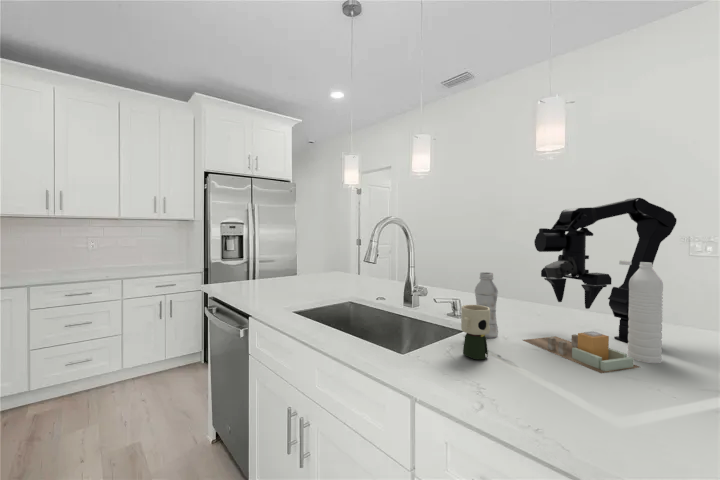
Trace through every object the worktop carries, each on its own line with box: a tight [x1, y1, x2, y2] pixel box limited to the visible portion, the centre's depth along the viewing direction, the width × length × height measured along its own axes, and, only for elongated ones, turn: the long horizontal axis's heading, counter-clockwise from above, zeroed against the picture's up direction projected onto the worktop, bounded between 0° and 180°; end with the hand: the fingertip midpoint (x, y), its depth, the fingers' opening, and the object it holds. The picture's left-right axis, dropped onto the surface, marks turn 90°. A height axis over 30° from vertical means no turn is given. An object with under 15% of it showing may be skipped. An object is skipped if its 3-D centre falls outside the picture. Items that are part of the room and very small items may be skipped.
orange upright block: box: [577, 330, 610, 361], centre depth 84 cm, size 5×4×6 cm
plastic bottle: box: [474, 272, 499, 339], centre depth 104 cm, size 6×7×20 cm
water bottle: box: [618, 259, 664, 364], centre depth 86 cm, size 9×6×25 cm
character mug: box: [460, 304, 490, 360], centre depth 89 cm, size 11×7×13 cm, turn 133°
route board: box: [522, 333, 640, 374], centre depth 89 cm, size 12×24×4 cm, turn 16°
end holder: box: [572, 347, 634, 371], centre depth 82 cm, size 9×8×2 cm
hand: (573, 305), depth 100 cm, fingers open, 9 cm apart
